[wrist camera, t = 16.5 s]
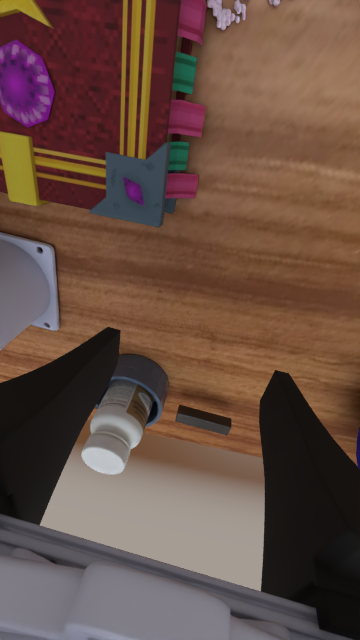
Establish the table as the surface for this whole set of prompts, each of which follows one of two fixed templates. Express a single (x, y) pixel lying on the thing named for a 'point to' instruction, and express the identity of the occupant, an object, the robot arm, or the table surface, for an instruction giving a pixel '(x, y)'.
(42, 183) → the decorative book
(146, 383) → the dark grey open cylinder
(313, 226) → the table surface
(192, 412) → the dark grey rectangular bar
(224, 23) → the pink molecule models
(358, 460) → the ornament
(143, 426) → the pill bottle
